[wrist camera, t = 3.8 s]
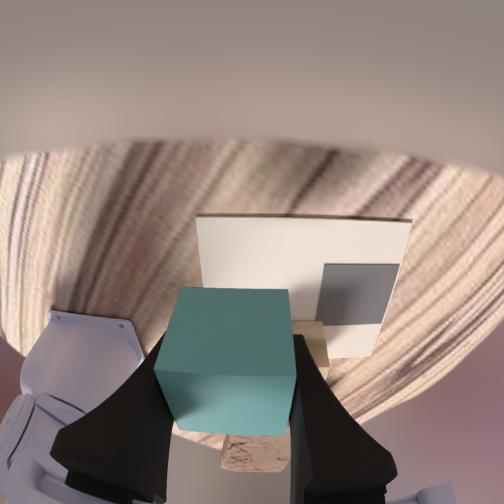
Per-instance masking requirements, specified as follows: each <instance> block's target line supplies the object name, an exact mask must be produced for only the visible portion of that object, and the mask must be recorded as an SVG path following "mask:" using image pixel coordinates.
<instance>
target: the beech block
mask: <svg viewBox="0 0 504 504" xmlns="http://www.w3.org/2000/svg"><path fill="white" fill-rule="evenodd" d="M291 322H292V332H293V334H302V335H303V336H304V338H305V341H306V344H307V346H308V349H309V351H310V353H311V355H312V357H313V359H314V361H315V363H316V365H317V367H318V369H319V371H320V372H321V374H322V376H323V378H324V379H325V381H326V378H327V375H328V371H329V368H330V365H329V359H328V352H327V346H326V340H325V333H324V327H323V321H291Z"/></svg>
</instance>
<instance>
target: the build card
mask: <svg viewBox="0 0 504 504" xmlns="http://www.w3.org/2000/svg"><path fill="white" fill-rule="evenodd" d="M411 226H412V223H411V222H400V221H381V220H359V219H333V218H298V217H196V228H197V238H198V248H199V257H200V266H201V275H202V284H203V287H206V288H249V289H288V293H289V302H290V312H291V321H323V327H324V333H325V340H326V346H327V352H328V359H332V358H351V357H365V356H371V353H372V351H373V348H374V345H375V343H376V340H377V338H378V335H379V332H380V330H381V327H382V324H383V321H384V318H385V316H386V313H387V310H388V307H389V304H390V301H391V298H392V295H393V292H394V288H395V285H396V282H397V279H398V275H399V272H400V268H401V265H402V261H403V257H404V254H405V250H406V246H407V242H408V238H409V234H410V230H411Z"/></svg>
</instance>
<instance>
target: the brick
mask: <svg viewBox="0 0 504 504" xmlns="http://www.w3.org/2000/svg"><path fill="white" fill-rule="evenodd" d="M290 459H291V436H290V425H289V418H288V423H287V428H286V432H285V435H233V434H226V438H225V441H224V444H223V448H222V452H221V458H220V467H221V468H224V469H227V470H233V471H243V472H248V471H249V472H280V471H281V470H283V469H284V468H285V467H286V465H287V463H288V461H289V460H290Z"/></svg>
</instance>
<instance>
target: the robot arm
mask: <svg viewBox="0 0 504 504" xmlns="http://www.w3.org/2000/svg"><path fill="white" fill-rule="evenodd" d="M48 317H49V319H50V322H49V323H48V325H47V326H46V328H45V329H44V331H43V332H42V334H41V335H40V337H39V338H38V340H37V341H36V343H35V344H34V346H33V348H32V349H31V351H30V352H29V354H28V356H27V357H26V359H25V361H24V363H23V366H22V369H21V375H20V385H21V390H22V393H23V394H22V395H19V396H18V397H17V398H16V399H15V400H14V402H13V403H12V405H11V406H10V408H9V410H8V412H7V413H6V415H5V417H4V419H3V421H2V423H1V425H0V490H1V491H2V493H3V495H4V496H5V497H6V499H7V501H6V503H5V504H164V503H165V502H166V489H167V468H168V457H169V448H170V440H171V433H172V427H173V422H174V417H173V415H172V413H171V410H170V408H169V406H168V403H167V401H166V399H165V396H164V394H163V391H162V389H161V387H160V384H159V382H158V379H157V376H156V374H155V371H154V367H155V363H156V360H157V357H158V354H159V351H160V348H161V345H162V342H163V339H164V336H165V333H166V331H165V333H164V334H163V335H162V337H161V338H160V340H159V341H158V342H157V344H156V345H155V346H154V348H153V349H152V350H151V352H150V353H149V354H148V355H147V357H146V358H145V357H144V354H143V352H142V349H141V346H140V343H139V341H138V338H137V335H136V332H135V329H134V327H133V324H132V323H131V322H130V321H129V320H124V319H114V318H105V317H97V316H89V315H81V314H74V313H66V312H60V311H53V310H50V311H49V312H48ZM121 324H122V325H121ZM293 342H294V353H295V364H296V375H297V376H296V382H295V387H294V393H293V398H292V403H291V408H290V413H289V425H290V436H291V490H290V504H456V500H455V495H454V491H453V487H452V483H451V480H446V481H443V482H441V483H438V484H435V485H432V486H429V487H427V488H424V489H422V490H421V491H419V492H418V493H417V494H414V495H410V496H407V497H403V498H399V499H395V500H392V501H387V502H385V496H384V494H386V492H387V490H386V485H387V484H388V483H389V482H391V481H392V480H393V479H394V478H395V477H396V476H397V469H396V465H395V462H394V459H393V457H392V455H391V453H390V452H388V450H386V449H385V448H384V447H382V446H381V445H380V444H379V443H378V442H376V441H375V440H374V439H373V438H372V437H371V436H370V435H369V434H368V433H367V432H366V431H365V430H364V429H363V428H362V427H361V426H360V425H359V424H358V423H357V422H356V421H355V420H354V419H353V418H352V417H351V415H350V414H349V413H348V412H347V411H346V409H345V408H344V407H343V406H342V404H341V403H340V402H339V400H338V399H337V398H336V396H335V395H334V393H333V392H332V390H331V389H330V387H329V386H328V384H327V383H326V381H325V379H324V378H323V376H322V374H321V372H320V371H319V369H318V367H317V365H316V363H315V361H314V359H313V357H312V355H311V353H310V351H309V349H308V346H307V344H306V341H305V338H304V336H303V335H302V334H293Z"/></svg>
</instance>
